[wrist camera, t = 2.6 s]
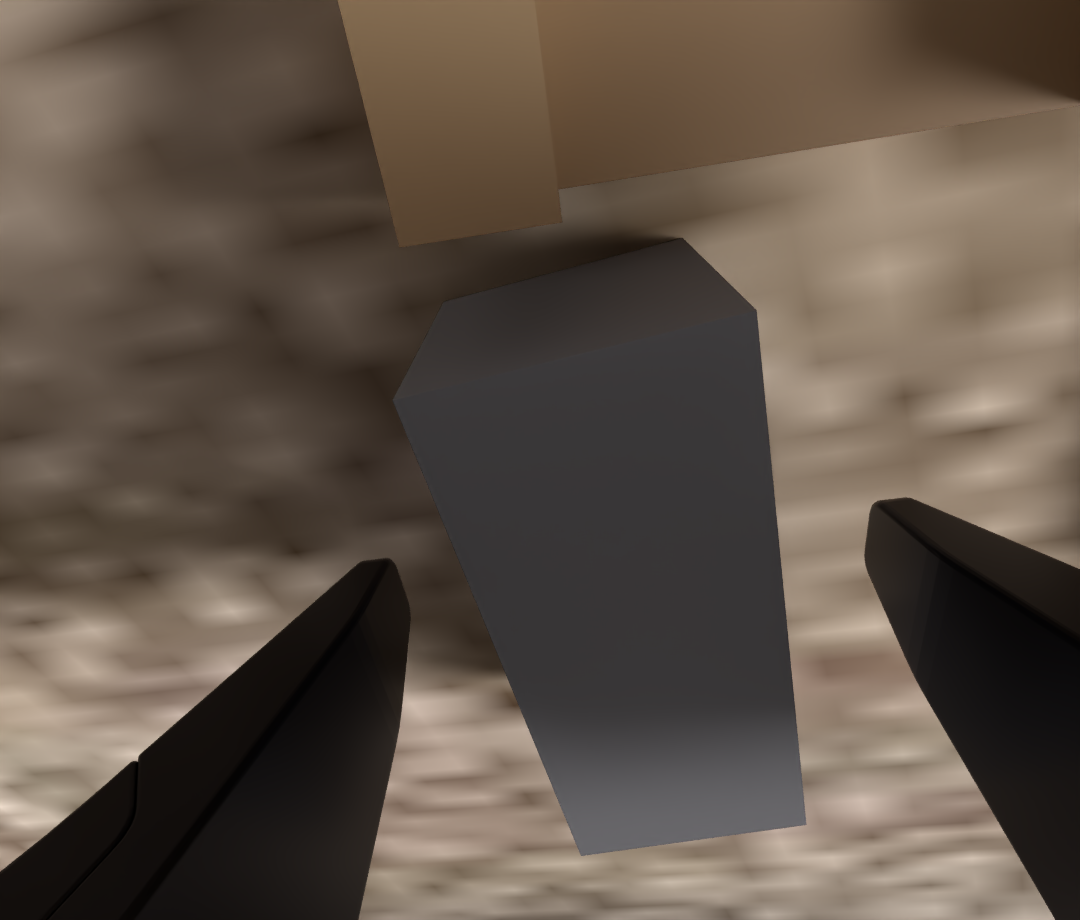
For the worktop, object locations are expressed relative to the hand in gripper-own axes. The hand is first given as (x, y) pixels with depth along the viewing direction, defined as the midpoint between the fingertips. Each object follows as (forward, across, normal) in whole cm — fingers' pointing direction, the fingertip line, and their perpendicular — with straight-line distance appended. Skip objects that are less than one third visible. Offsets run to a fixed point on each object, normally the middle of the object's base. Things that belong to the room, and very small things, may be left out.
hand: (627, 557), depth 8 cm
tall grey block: (+2, 0, 0) cm, 2 cm away
